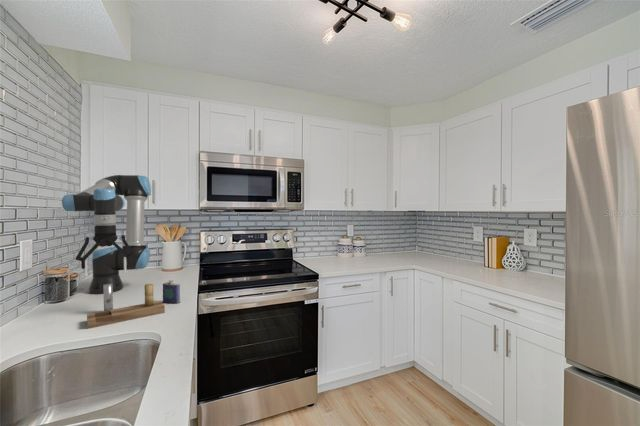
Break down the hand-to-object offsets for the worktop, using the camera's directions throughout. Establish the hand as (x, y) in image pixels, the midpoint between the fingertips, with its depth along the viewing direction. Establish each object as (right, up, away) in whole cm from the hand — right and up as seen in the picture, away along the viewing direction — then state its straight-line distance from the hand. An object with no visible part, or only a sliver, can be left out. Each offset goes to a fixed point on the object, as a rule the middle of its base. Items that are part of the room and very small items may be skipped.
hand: (106, 273), depth 128 cm
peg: (0, -17, +1) cm, 17 cm away
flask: (+22, -17, +13) cm, 30 cm away
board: (+13, -17, -6) cm, 22 cm away
